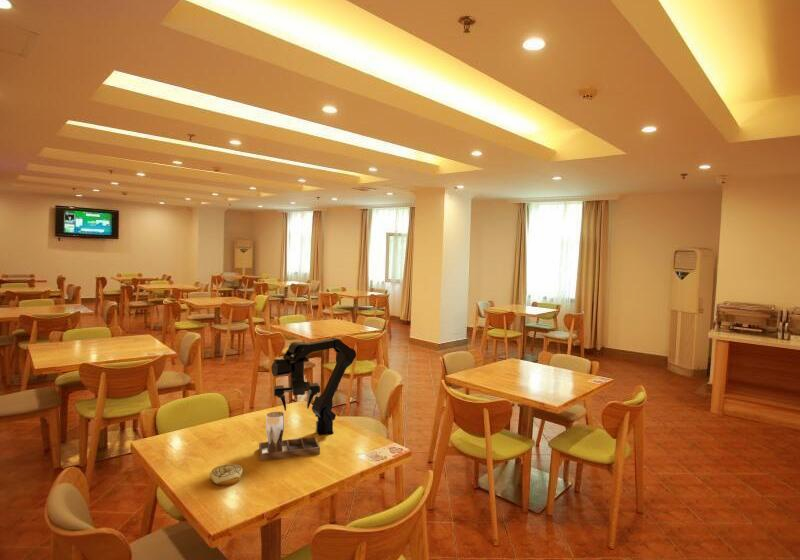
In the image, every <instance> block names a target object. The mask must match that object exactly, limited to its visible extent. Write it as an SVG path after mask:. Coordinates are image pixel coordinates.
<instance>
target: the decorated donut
mask: <svg viewBox="0 0 800 560" xmlns="http://www.w3.org/2000/svg"><path fill="white" fill-rule="evenodd" d="M242 475H243V468H242V466H240V465H239V464H237V463H225V464H221V465H217V466H215V467H214V468H212V469H211V471H210V472H209V477H210V480H211V482H212V483H214V484H216V485H218V486H232V485H233V484H236V483H238V482H239V481H240V479H241V478H242Z"/></svg>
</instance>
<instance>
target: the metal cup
mask: <svg viewBox="0 0 800 560" xmlns="http://www.w3.org/2000/svg"><path fill="white" fill-rule="evenodd" d="M284 414H285V413H284V412H282V411H271V412H268V413H266V417H265V418H266V419H265V429H266V430H265V431H266V437H267V442H268V448H267V453H272V452H281V451H283V447H282V440H283V437H284V432H285V415H284Z"/></svg>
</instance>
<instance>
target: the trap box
mask: <svg viewBox="0 0 800 560" xmlns="http://www.w3.org/2000/svg"><path fill="white" fill-rule="evenodd" d="M282 447H283V451H281V452H272V453H267V448H268V441H264V442H262V441H261V442H258V451H259V459H260V460H259V461H260V462H263V461H272V460H279V459H288V458H296V457H297V458H298V457H304V456H312V455H313V456H314V455H319V454H320V453H321V447H320V444H319V442H318V440H317V437H316V436H309V437H308V436H307V437H299V438H292V439H291V438H290V439H282Z"/></svg>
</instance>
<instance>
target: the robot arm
mask: <svg viewBox="0 0 800 560" xmlns="http://www.w3.org/2000/svg"><path fill="white" fill-rule="evenodd" d="M329 349H330V350H331V349H333V351H335V353H336V355H335V356H336V357H335V358H336V359H335V360H336V361H335V363H336V364H335V366H334V367H333V370H332V373H331V374H330V377H329V379H328V381H327V383H326V385H325V387H324V390H323V392H322V394H320V396H317V394H319V393H321V386H320V385H319V383H318V382H313V383H312V382H311V383H310V381H305V362H310V359H309V358H308V357H307V356H309V355H310V354H312V353H316V352H320V351H325V350H329ZM356 356H357V352H356V350H355V349H354V348H351V347H350V346H348V345H347V344H345V343H344V342H343V341H342V340H341V339H339V338H338V337H337V338H336V337H331V338H327V339H323V340H322V339H320V340H317V341H315V340H314V341H310V342H303V341H293V342H291V343H290V344H289V346H288V349H287V350H286V352H285V354H283V356H282V358H280V359H279V358H276V359H273V362H272V364H271V374H272V376H273V377H280V376H286V375H289V387H284V385H283V384H282V385H274V386H273V387H272V388H273V389H272V390H273V391H272V392H273V396H274V397H277V398H280V400H281V403H282V405H283V408H284V411H287V405H286V396H285V393H292V396H300V395H301V396H305V393H306V392H307V400H306V401H307V402H306V409H307V410H308V409H309V408H310V406H311V405H312V407H311V410H312V413H313V414H314V415H315V418H317V420H316V421H315V431H316V433H317V434H318V436H322V435H323V436H324V435H330V434H331V435H333V434H335V433H334V431H333V430H334V428H333V425H334V421H335V420H336V417H337V415H336V414H335V412H333V411H332V410H333V409H332V408H333V398H334V396H335V394H336V393H337V390H338V387H339V385H340V383H341V380H342V378H343V376H344V374H345V373H346V370H347V368H349V367H350V365H352V364H353V362H354V361H355V359H356V358H357V357H356ZM314 396H315V398H314ZM313 398H314V401H312V399H313ZM312 402H313V403H312Z"/></svg>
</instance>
